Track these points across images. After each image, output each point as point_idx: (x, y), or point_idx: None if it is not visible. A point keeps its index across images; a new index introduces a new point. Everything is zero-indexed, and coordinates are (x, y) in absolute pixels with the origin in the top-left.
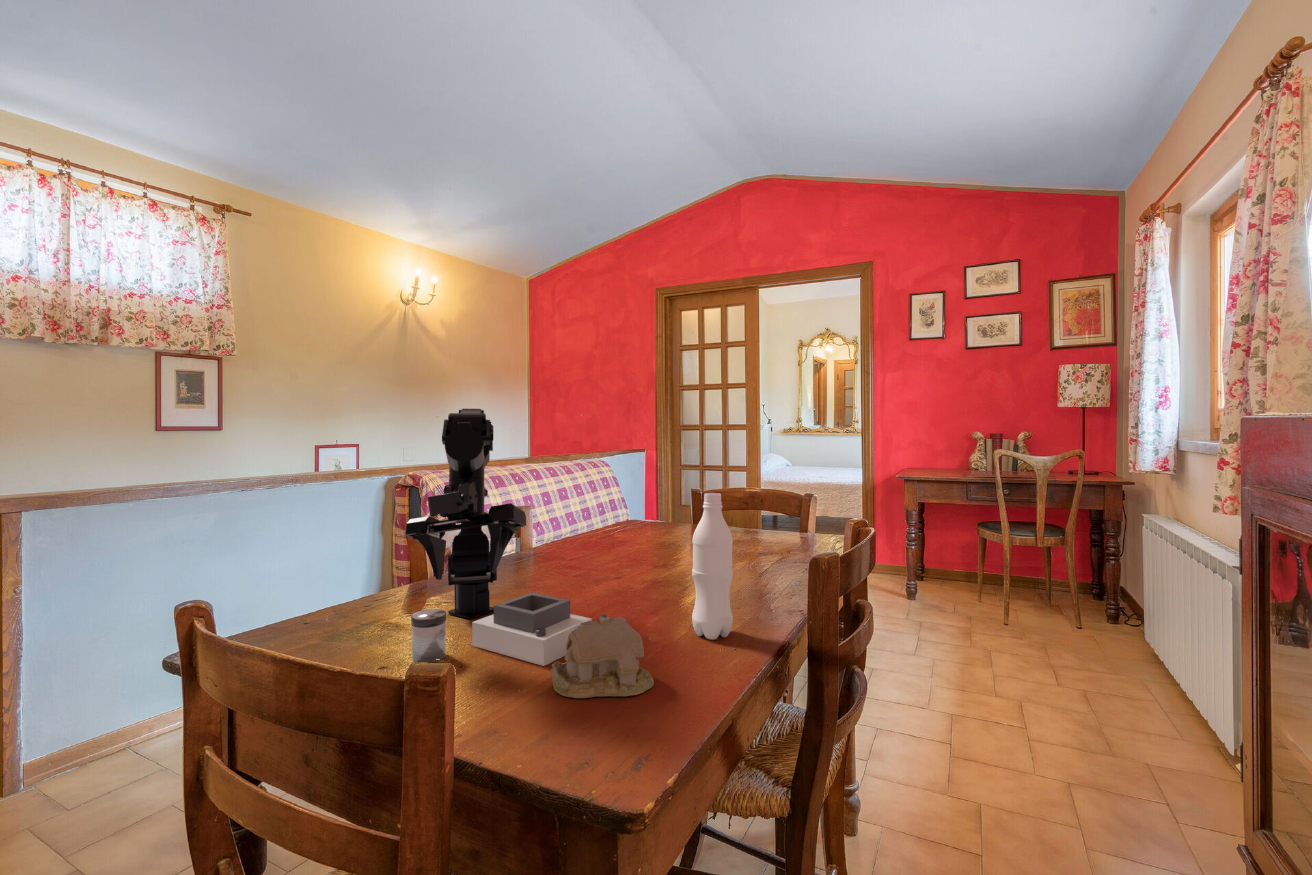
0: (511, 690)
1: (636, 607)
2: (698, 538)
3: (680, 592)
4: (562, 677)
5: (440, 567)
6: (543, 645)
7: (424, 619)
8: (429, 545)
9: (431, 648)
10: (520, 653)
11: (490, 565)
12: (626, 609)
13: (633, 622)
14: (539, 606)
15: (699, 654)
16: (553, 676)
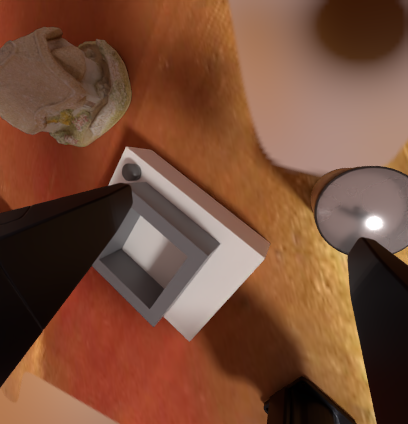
0: (176, 62)
1: (80, 339)
2: None
3: (47, 373)
4: (99, 46)
5: (369, 292)
6: (132, 147)
7: (369, 167)
8: None
9: (335, 171)
10: (180, 176)
11: (114, 189)
12: (89, 336)
13: (77, 287)
14: (147, 285)
15: (17, 177)
16: (120, 77)
